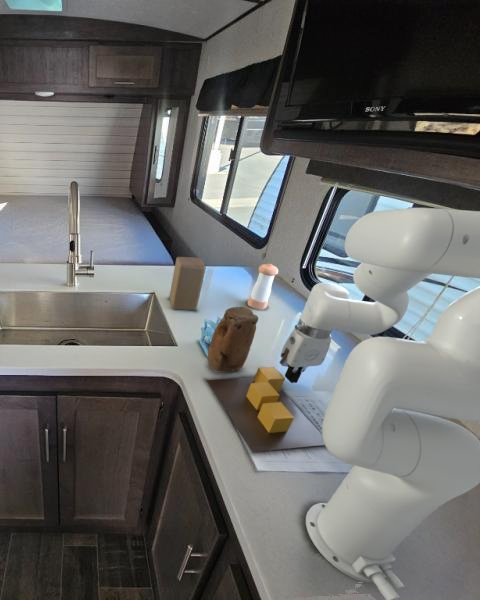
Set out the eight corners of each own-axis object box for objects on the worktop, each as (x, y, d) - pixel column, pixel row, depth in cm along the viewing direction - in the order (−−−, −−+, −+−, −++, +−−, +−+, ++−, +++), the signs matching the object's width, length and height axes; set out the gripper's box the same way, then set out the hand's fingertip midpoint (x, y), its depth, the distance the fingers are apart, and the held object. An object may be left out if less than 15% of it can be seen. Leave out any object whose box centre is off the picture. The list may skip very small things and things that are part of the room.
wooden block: (191, 299, 140) (201, 257, 130) (196, 311, 131) (207, 266, 122) (168, 298, 141) (176, 255, 131) (172, 309, 132) (180, 265, 122)
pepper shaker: (262, 301, 140) (276, 260, 130) (269, 310, 133) (284, 267, 124) (244, 300, 140) (257, 259, 131) (250, 309, 134) (264, 266, 125)
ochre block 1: (279, 391, 92) (285, 378, 90) (263, 392, 92) (268, 379, 89) (268, 379, 97) (274, 366, 94) (253, 380, 96) (258, 367, 94)
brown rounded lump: (229, 355, 107) (245, 303, 97) (245, 370, 100) (264, 316, 91) (201, 361, 104) (215, 308, 94) (216, 376, 98) (233, 321, 88)
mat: (330, 445, 77) (330, 444, 77) (252, 452, 75) (253, 451, 75) (268, 376, 98) (268, 375, 98) (206, 380, 96) (206, 379, 96)
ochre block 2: (273, 408, 87) (279, 395, 84) (256, 410, 86) (262, 396, 84) (262, 394, 91) (267, 381, 89) (246, 396, 90) (251, 383, 88)
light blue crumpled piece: (211, 339, 114) (219, 310, 109) (227, 353, 108) (237, 323, 102) (193, 343, 112) (200, 314, 106) (208, 357, 105) (217, 327, 100)
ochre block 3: (287, 431, 80) (294, 417, 78) (269, 433, 80) (275, 419, 77) (274, 415, 85) (280, 402, 82) (257, 416, 84) (262, 403, 82)
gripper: (297, 337, 81) (274, 390, 90) (351, 334, 83) (323, 387, 92) (278, 321, 88) (259, 372, 97) (328, 319, 89) (304, 369, 98)
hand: (290, 379), depth 94 cm, fingers closed
